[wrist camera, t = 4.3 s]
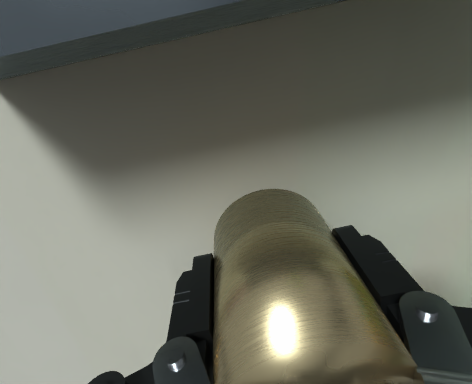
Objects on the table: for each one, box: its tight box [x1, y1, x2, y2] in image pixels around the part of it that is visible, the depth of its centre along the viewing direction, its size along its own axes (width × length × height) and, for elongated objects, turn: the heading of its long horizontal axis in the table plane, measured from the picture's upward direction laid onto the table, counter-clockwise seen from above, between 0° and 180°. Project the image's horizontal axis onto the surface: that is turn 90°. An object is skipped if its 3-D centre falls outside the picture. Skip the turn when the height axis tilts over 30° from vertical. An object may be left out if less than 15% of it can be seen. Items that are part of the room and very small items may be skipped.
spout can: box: [213, 189, 417, 384], centre depth 10 cm, size 5×7×7 cm
